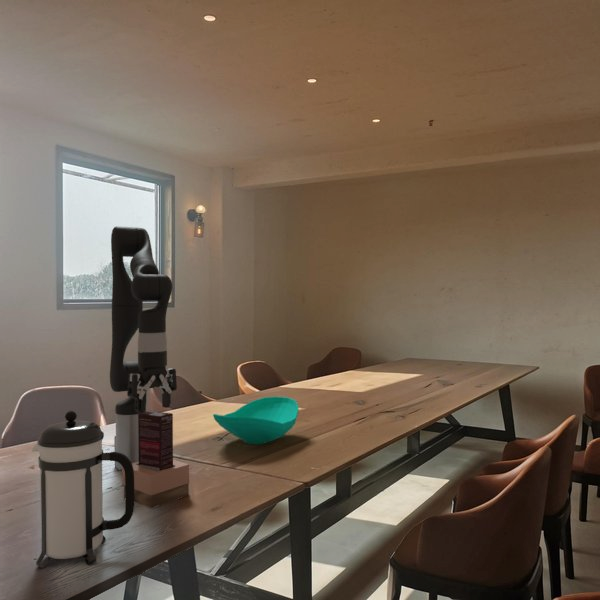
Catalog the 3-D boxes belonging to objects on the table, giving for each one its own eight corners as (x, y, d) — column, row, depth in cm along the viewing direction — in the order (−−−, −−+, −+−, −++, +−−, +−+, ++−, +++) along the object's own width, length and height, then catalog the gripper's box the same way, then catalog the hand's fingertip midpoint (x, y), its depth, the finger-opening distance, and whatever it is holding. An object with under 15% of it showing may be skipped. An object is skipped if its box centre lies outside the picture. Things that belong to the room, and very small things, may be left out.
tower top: (122, 484, 150) (122, 465, 150) (159, 473, 159) (159, 455, 159) (151, 495, 142) (151, 475, 142) (189, 482, 151) (188, 464, 151)
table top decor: (253, 426, 230) (252, 394, 230) (314, 433, 218) (314, 399, 218) (194, 451, 194) (193, 413, 194) (263, 461, 182) (263, 420, 182)
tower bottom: (124, 499, 150) (123, 485, 150) (160, 487, 159) (160, 473, 159) (151, 510, 142) (151, 494, 142) (188, 496, 152) (188, 481, 152)
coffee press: (55, 582, 106) (54, 423, 106) (20, 556, 117) (18, 412, 116) (137, 550, 119) (135, 408, 119) (98, 529, 129) (97, 399, 129)
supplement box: (174, 472, 151) (173, 413, 151) (161, 477, 146) (160, 416, 146) (150, 467, 155) (150, 410, 155) (137, 472, 151) (137, 413, 151)
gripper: (164, 346, 158) (165, 404, 158) (120, 350, 146) (121, 413, 146) (182, 347, 153) (183, 407, 153) (138, 352, 142) (139, 416, 142)
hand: (153, 410), depth 150 cm, fingers open, 8 cm apart
